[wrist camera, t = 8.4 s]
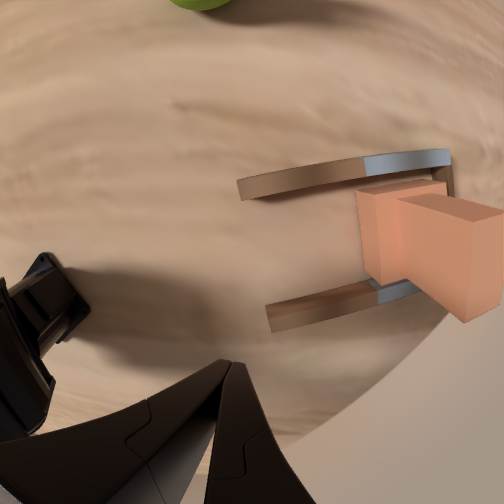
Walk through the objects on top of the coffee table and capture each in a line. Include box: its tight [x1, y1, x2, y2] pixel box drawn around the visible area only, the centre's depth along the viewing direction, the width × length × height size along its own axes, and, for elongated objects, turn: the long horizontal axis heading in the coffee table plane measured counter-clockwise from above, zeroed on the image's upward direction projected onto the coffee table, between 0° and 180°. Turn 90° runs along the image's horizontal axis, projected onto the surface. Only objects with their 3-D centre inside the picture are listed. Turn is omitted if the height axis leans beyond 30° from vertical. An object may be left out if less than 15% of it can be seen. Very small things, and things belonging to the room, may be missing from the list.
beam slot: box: [237, 149, 454, 333], centre depth 19 cm, size 16×10×2 cm
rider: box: [355, 179, 504, 323], centre depth 15 cm, size 6×6×10 cm
